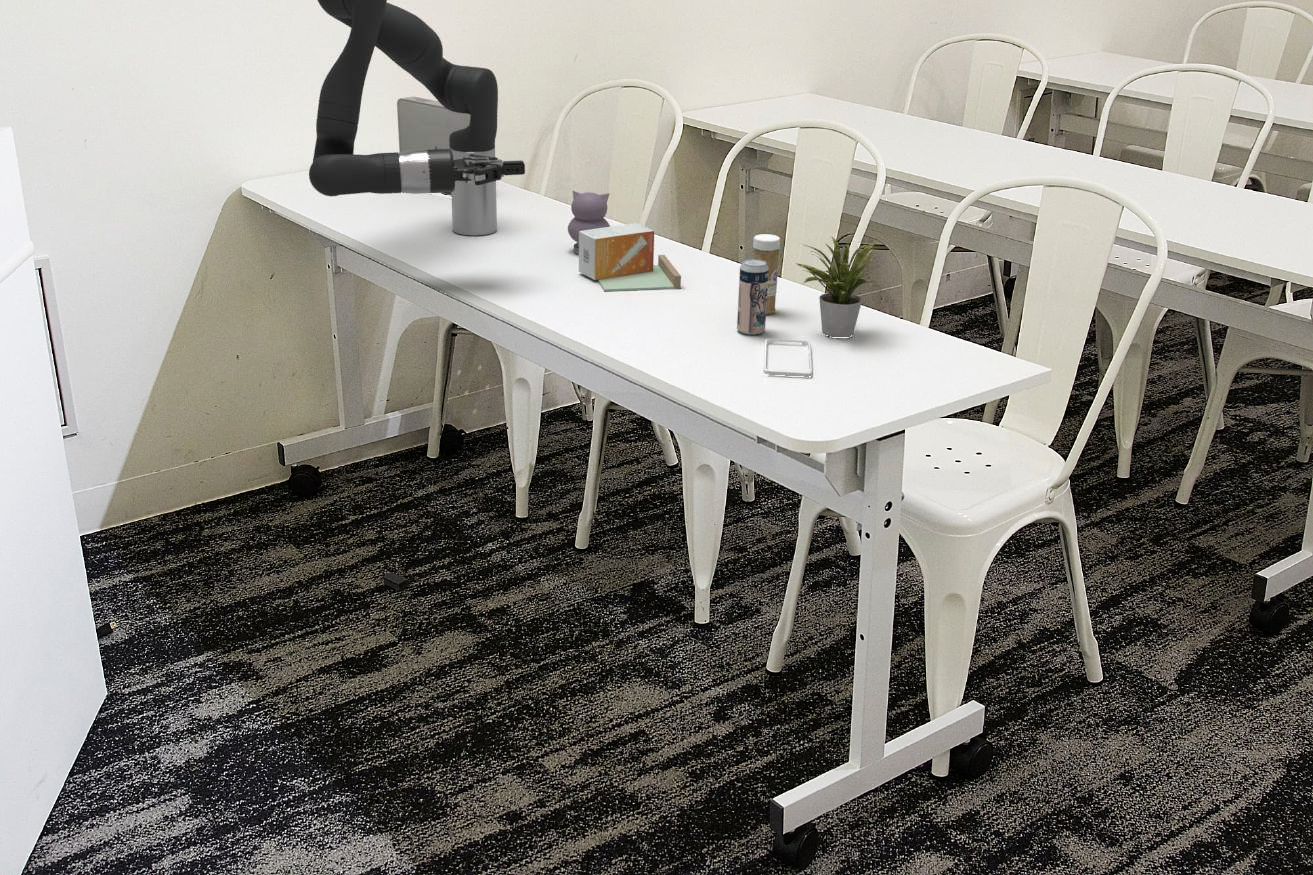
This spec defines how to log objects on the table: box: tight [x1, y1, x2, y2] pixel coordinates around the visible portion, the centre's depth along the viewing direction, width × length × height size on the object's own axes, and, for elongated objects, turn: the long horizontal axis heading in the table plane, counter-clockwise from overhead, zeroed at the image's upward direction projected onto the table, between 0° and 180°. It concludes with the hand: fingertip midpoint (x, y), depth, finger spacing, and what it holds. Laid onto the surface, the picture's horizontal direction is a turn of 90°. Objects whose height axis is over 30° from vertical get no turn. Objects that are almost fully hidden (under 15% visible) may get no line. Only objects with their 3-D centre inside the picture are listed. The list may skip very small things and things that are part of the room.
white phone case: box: [763, 338, 813, 377], centre depth 209 cm, size 7×1×15 cm
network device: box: [396, 96, 470, 153], centre depth 303 cm, size 26×9×20 cm, turn 50°
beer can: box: [736, 258, 769, 336], centre depth 218 cm, size 5×5×12 cm
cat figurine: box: [567, 190, 611, 256], centre depth 260 cm, size 8×8×12 cm
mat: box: [597, 254, 682, 292], centre depth 246 cm, size 14×14×2 cm
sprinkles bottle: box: [752, 233, 781, 316], centre depth 228 cm, size 5×5×13 cm
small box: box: [578, 222, 655, 281], centre depth 247 cm, size 8×6×13 cm
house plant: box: [795, 236, 880, 338], centre depth 219 cm, size 14×14×16 cm
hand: (524, 167), depth 235 cm, fingers closed
